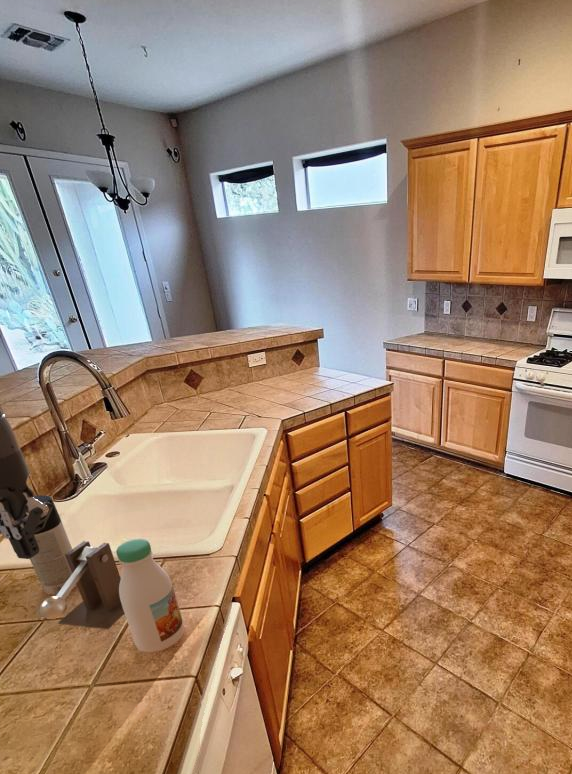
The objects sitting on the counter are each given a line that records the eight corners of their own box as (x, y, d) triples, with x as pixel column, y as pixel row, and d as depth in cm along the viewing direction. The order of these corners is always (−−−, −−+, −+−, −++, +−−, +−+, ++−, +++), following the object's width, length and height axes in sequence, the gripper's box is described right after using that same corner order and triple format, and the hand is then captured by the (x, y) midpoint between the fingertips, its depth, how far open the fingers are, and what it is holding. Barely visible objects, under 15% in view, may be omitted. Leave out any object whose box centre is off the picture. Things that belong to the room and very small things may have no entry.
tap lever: (62, 623, 71) (48, 613, 68) (42, 621, 71) (28, 611, 68) (109, 556, 80) (98, 545, 77) (91, 555, 80) (80, 544, 77)
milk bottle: (146, 664, 71) (113, 566, 62) (130, 640, 76) (96, 546, 67) (193, 638, 76) (168, 545, 67) (175, 617, 81) (149, 527, 72)
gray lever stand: (110, 633, 77) (86, 571, 71) (59, 627, 78) (32, 566, 72) (152, 590, 88) (135, 533, 82) (107, 585, 89) (87, 528, 83)
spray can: (93, 579, 90) (61, 495, 81) (65, 600, 84) (28, 513, 76) (65, 575, 91) (31, 492, 82) (36, 596, 85) (-4, 509, 76)
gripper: (51, 444, 61) (87, 546, 69) (-31, 438, 62) (13, 538, 70) (0, 465, 54) (47, 575, 62) (-90, 458, 56) (-34, 566, 63)
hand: (29, 555), depth 66 cm, fingers closed
